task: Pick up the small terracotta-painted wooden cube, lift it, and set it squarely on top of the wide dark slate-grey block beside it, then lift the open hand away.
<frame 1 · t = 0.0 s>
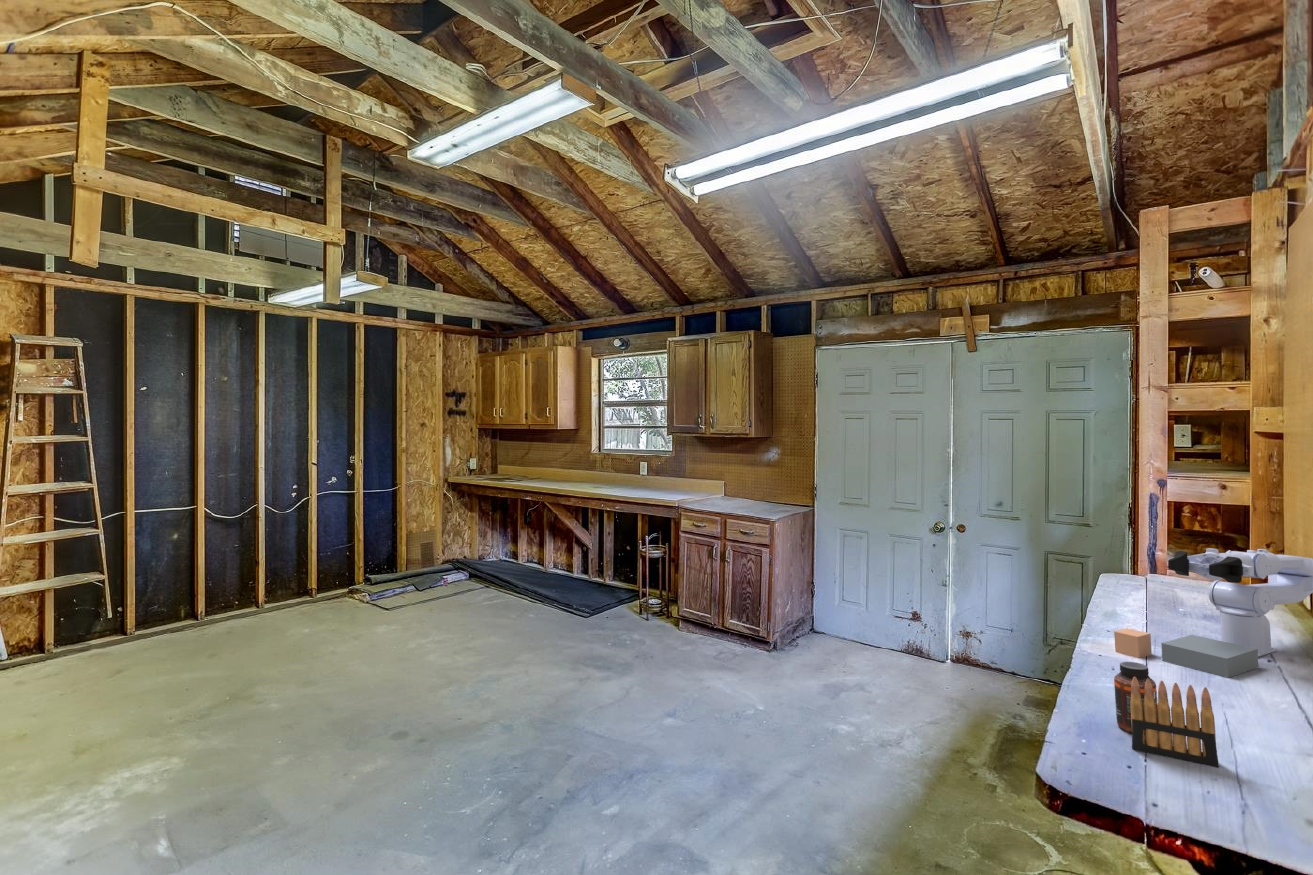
hand: (1189, 567, 137), 22 cm above the workbench, tool horizontal, fingers open, 7 cm apart
slate plinth: (1209, 663, 136), on the workbench
ammunition clip: (1173, 757, 99), on the workbench
terracotta cube: (1133, 653, 145), on the workbench
supplement bottle: (1137, 730, 108), on the workbench
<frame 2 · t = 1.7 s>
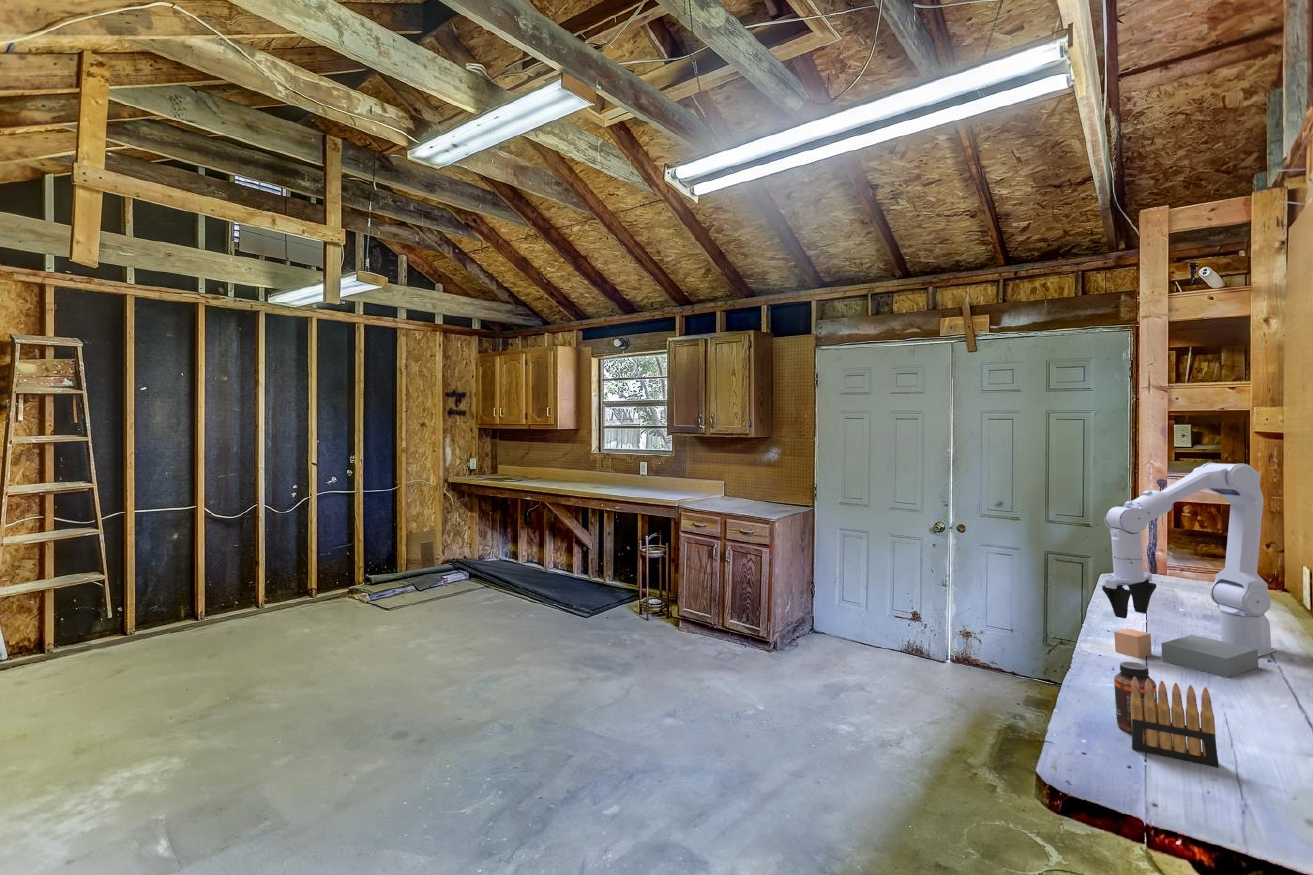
hand: (1130, 614, 145), 9 cm above the workbench, tool pointing down, fingers open, 7 cm apart
nothing on the workbench moved.
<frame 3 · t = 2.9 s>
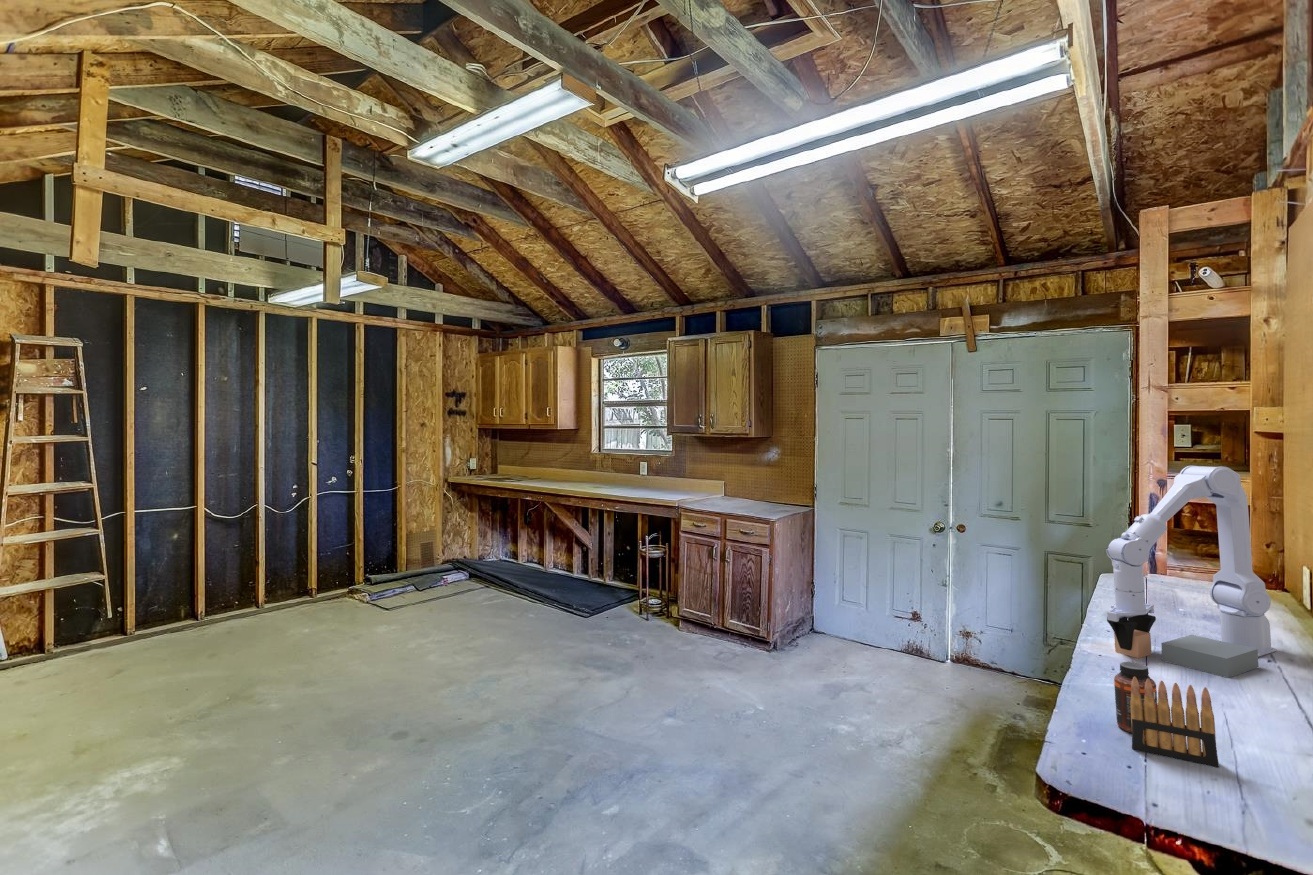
hand: (1133, 647, 145), 1 cm above the workbench, tool pointing down, fingers closed on terracotta cube, 5 cm apart
terracotta cube: (1133, 653, 145), on the workbench, touching gripper
everything else where it was.
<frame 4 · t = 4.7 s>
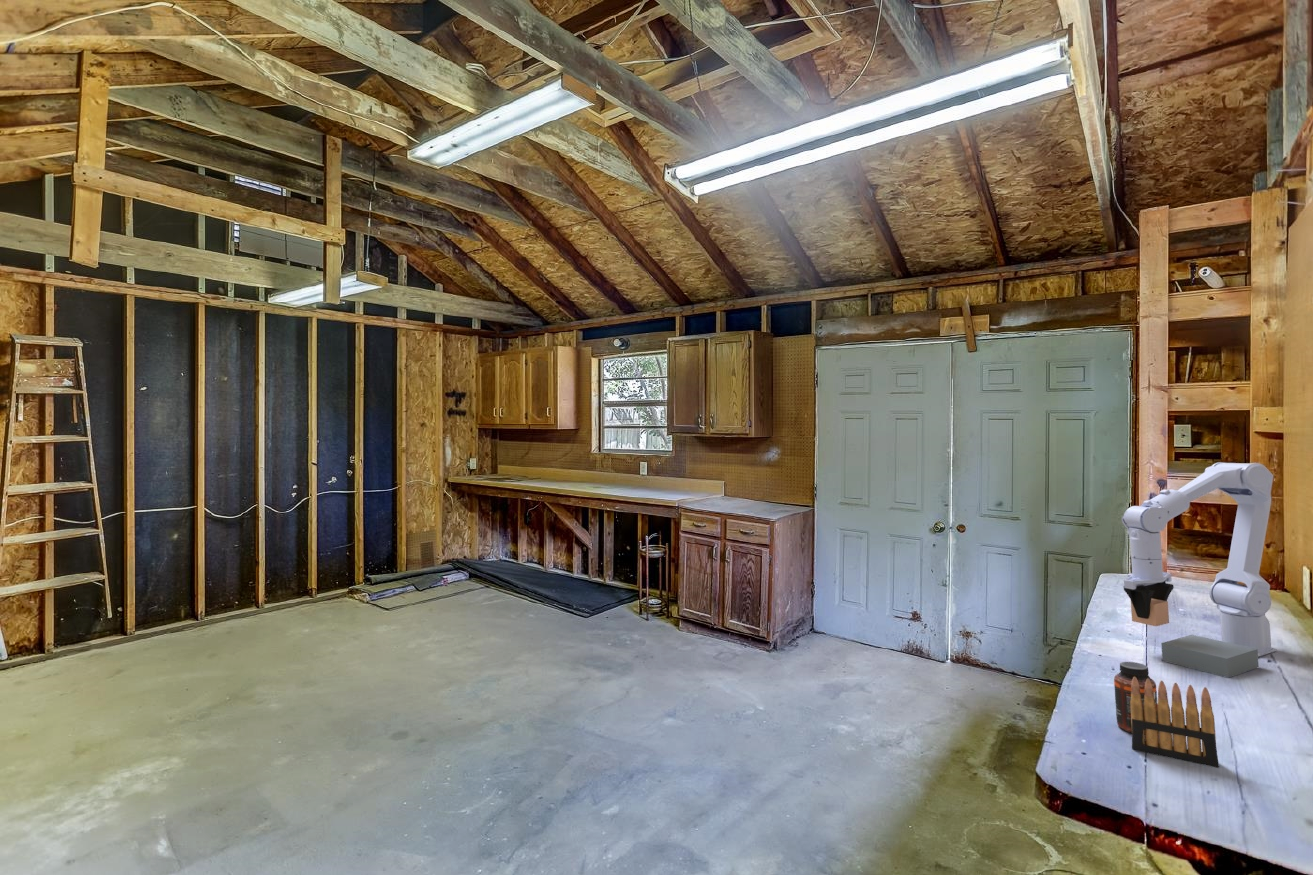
hand: (1150, 615, 143), 9 cm above the workbench, tool pointing down, fingers closed on terracotta cube, 5 cm apart
terracotta cube: (1150, 622, 143), point 8 cm above the workbench, touching gripper
everything else where it was.
when the fingers open (6 cm above the workbench, at t = 6.4 s): terracotta cube stays where it is, resting on slate plinth.
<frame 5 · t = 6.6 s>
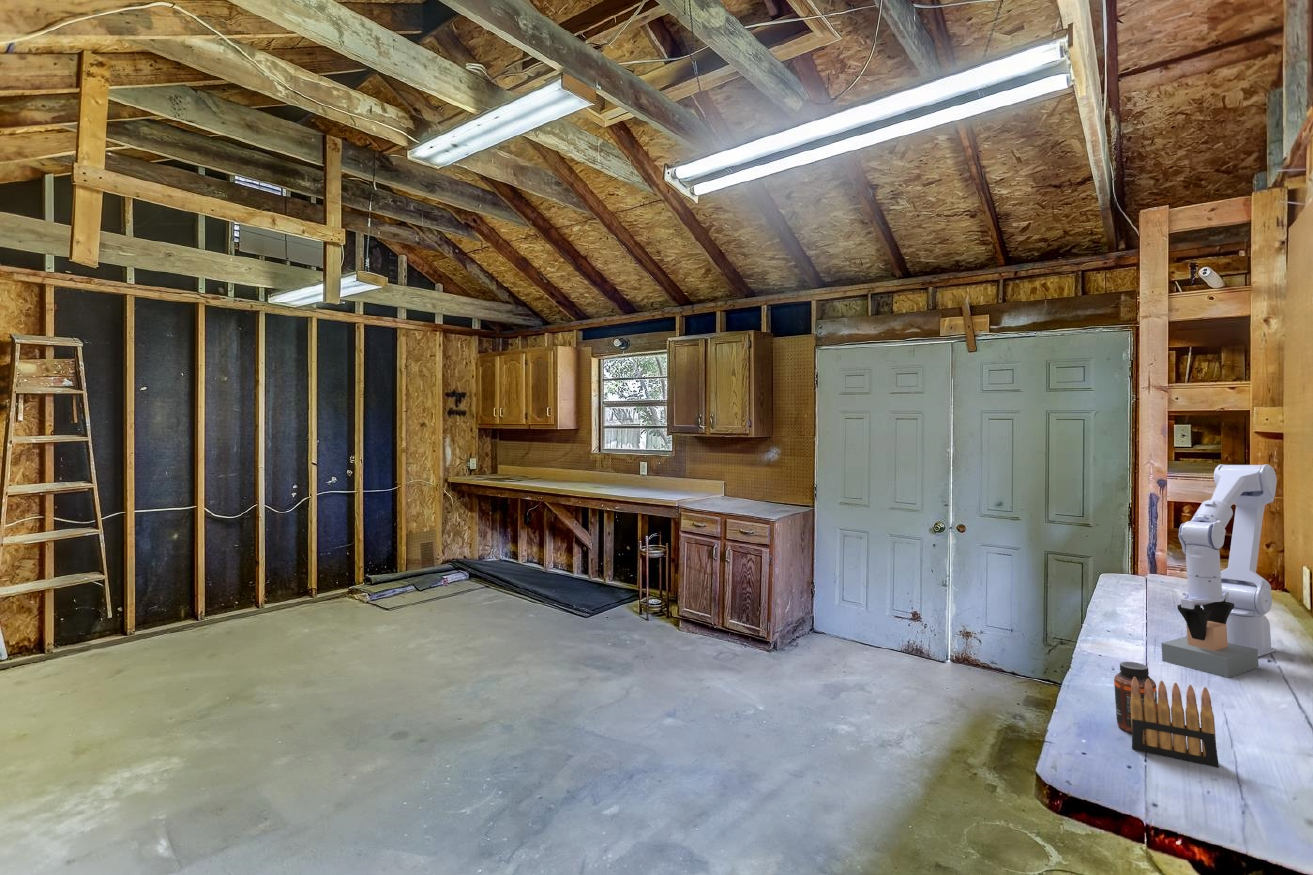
hand: (1207, 636, 137), 6 cm above the workbench, tool pointing down, fingers open, 7 cm apart
terracotta cube: (1207, 645, 137), point 4 cm above the workbench, touching slate plinth
everything else where it was.
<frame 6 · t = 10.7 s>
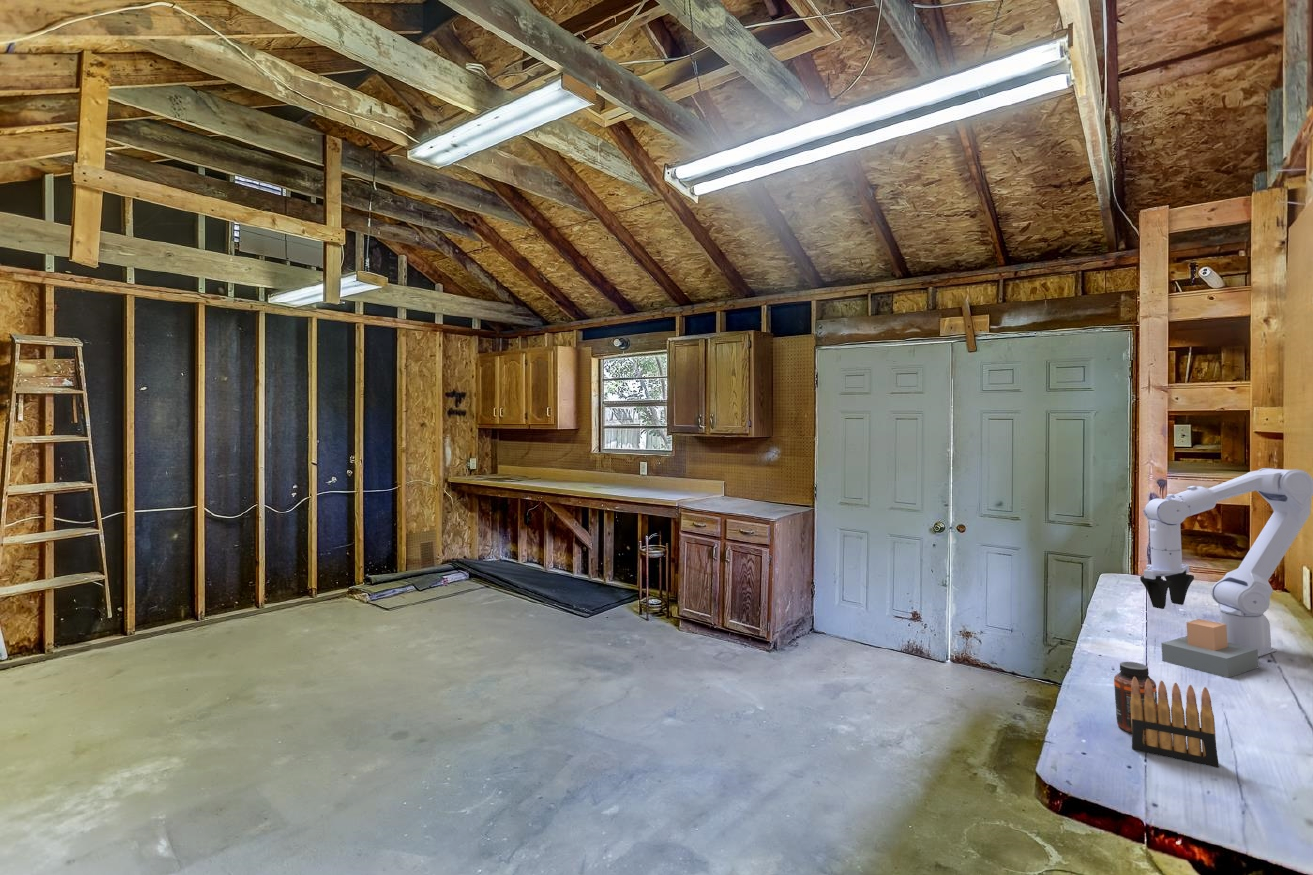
hand: (1168, 605, 147), 10 cm above the workbench, tool pointing down, fingers open, 7 cm apart
nothing on the workbench moved.
at the end: terracotta cube 0.1 cm off-centre on the slate plinth, point 4.0 cm above the slate plinth's base; terracotta cube tilted 0°; the gripper is holding nothing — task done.
